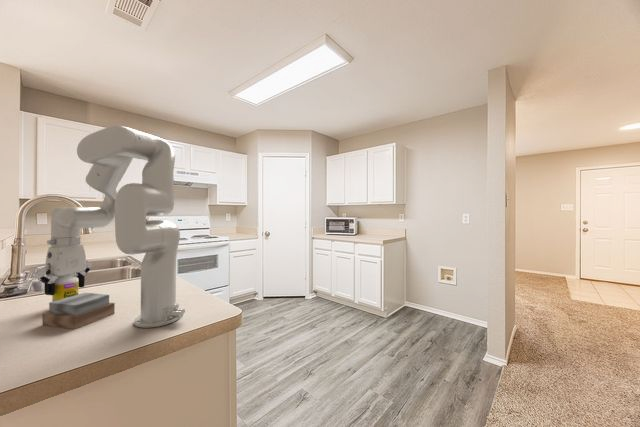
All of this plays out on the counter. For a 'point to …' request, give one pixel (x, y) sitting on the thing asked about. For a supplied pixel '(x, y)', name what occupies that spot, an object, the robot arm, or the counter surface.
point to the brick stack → (78, 310)
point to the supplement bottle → (65, 287)
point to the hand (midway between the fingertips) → (65, 290)
